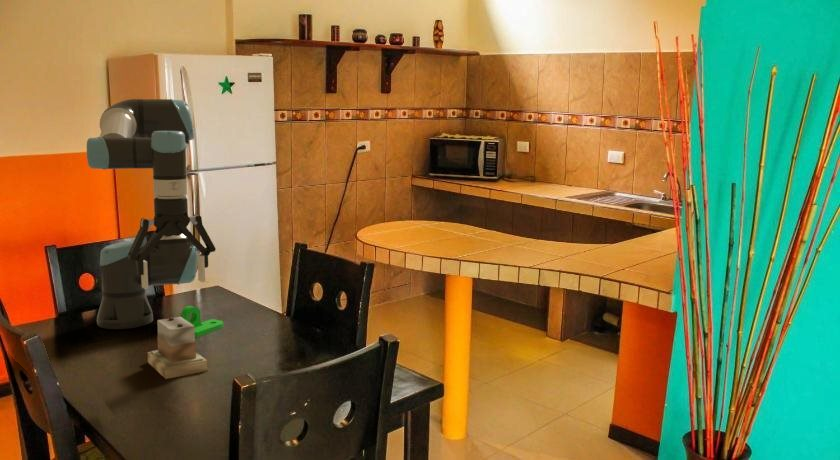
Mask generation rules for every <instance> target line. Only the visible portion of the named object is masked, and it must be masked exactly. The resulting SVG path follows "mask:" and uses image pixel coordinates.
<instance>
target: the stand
mask: <svg viewBox="0 0 840 460" xmlns="http://www.w3.org/2000/svg"><path fill="white" fill-rule="evenodd" d="M147 363H148V364H149V366H151V367H152V368H154V370H155V371H156V372H158V373H159V374H160V376H162V377H163V378H164V379H165V380H167V379H173V378H177V377H183V376H189V375H194V374H198V373H199V374H200V373H203V372H208V360H207V359H206V358H205V357H203V356H202V355H201V354H200V353H198V352H197V351H196V358H194V359H189V360H183V361H178V362H173V363H171V362H170V361H169V360H167V359H166V358H165V357H164V356H163V355H162V354H160V353H159V352H158V349H155V350H150V351H147Z"/></svg>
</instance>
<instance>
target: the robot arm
mask: <svg viewBox="0 0 840 460" xmlns="http://www.w3.org/2000/svg"><path fill="white" fill-rule="evenodd" d="M190 110H191V109H190V106H189V104H188V103H187V101H185V100H183V99H182V100H180V99H173V98H170V99H169V98H162V99H159V98H157V99H156V98H155V99H154V98H153V99H152V98H147V99H146V98H144V99H143V98H140V99H139V98H131V99H130V98H129V99H124V100H121V101H119V102H116V103H114V104H112V105H110V106H109V107H108V108H106V109H105V110H104V111H103V112H102V114H101V116H100V118H99V128H100V135H99V136H98V137H97V136H96V137H89V138H88V139H87V140H86V159H87V160H86V161H87V165H88V167H89V168H91V169H97V170H104V171H105V170H122V169H123V170H124V169H125V170H126V169H127V170H128V169H129V170H130V169H131V170H132V169H152V179H153V181H152V183H153V185H152V186H153V191H152V192H153V195H154V198H153V206H154V211H153V212H154V213H153V214H154V216H153V219H151V218H150V219H148V218H144V217H143V218H141V219H140V224H139V229H138V231H137V234H136V236H135V238H134V240H126V241H125V240H124V241H120V242H116V243H112V244H109V245H106V246H104V247H103V248H102V249H101V251H100V254H99V255H100V256H99V257H100V259H99V260H100V262H99V266H100V276H101V295H102V296H101V302H100V305H99V309H98V312H97V316H96V325H97V326H98V327H99V328H101V329H106V330H128V329H134V328H139V327H143V326H146V325H149V324H151V323H152V322H153V321H154V315H153V310H152V307H151V305H150V303H149V300H148V297H147V294H146V290H149V287H150V286H152V287H153V286H166V285H177V286H178V285H180V284H191V283H192V282H194V281H195V280H196V276H197V278H198V279H197V280H198V281H199V282H201V283H205V282H206V270H205V269H207V268H208V267H209V256H210V254H211V253H214V252H216V249H217V248H216V246H215V244H214V242H212V239H211V237H210V236H209V234H208V232H207V230H206V229H205V227H204V224H203V220H202V218H203V217H202V216H201V215H199V214H196V213H195V214H193V215H192V216H189V211H188V210H189V208H188V198H187V195H188V183H187V154H186V153H187V149H188V148H189V147H190V141H192V140H194V139H195V135H194V134H195V133H194V126H193V120H192V119H193V118H192V114H191V111H190ZM190 223H192V225H194V227H195V229H196V231H197V233H198V234H199V236H200V238H201V240H202V241H203V243H204V245H205V246H204V245H203V244H202V243H201V242H200V241H199V240H198V239H197V238H196V237H195V236H194V234H193V233H192V232H191V230H189V229H188V226H189V224H190ZM152 226H154V227H155V228H156V229H155V230H154V232H152V235H151V236H150V237H149V239H148V240H147V241H146V243H144V240H145V238H146V236H147V234H148V233H149V232H148V231H149V229H151V228H152ZM199 252H200V253H199ZM196 274H198V275H196Z"/></svg>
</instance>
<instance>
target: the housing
mask: <svg viewBox="0 0 840 460" xmlns="http://www.w3.org/2000/svg"><path fill="white" fill-rule="evenodd" d="M156 338H157V350H158V352H159V353H160V354H162V355H163V356H164V357H165V358H166V359H167V360H169V361H170V362H171V363H173V362H178V361H183V360H189V359H194V358H196V352H197V350H196V349H197V343H196V337H195V327H194V325H192V324H191V323H189V322H188V321H186V320H185V319H183V318H182V317H181V316H176V317H174V316H172V317H168V318H163V319H157V337H156Z"/></svg>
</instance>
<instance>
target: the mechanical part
mask: <svg viewBox="0 0 840 460" xmlns="http://www.w3.org/2000/svg"><path fill="white" fill-rule="evenodd" d="M190 316H191V317H190ZM180 317H182V318H183V319H185V320H186V321H188V322H189V323H191V324H192V325H194V327H195V339H197V338H200V337H203V336H205V335H207V334H209V333H212V332H214V331H217V330H220V329H222V328H223V327H224V321H223V320H219V319H214V318H210V319H207V320H205V321H201V319H202V316H201V310H200V309H199V307H196V306H193V305H188V306H187V305H186V306H185V307H184V308H183V309H182V311H181V313H180Z"/></svg>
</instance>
